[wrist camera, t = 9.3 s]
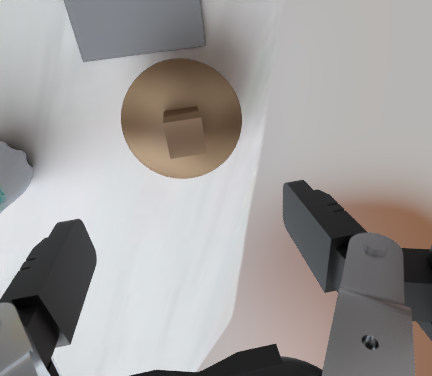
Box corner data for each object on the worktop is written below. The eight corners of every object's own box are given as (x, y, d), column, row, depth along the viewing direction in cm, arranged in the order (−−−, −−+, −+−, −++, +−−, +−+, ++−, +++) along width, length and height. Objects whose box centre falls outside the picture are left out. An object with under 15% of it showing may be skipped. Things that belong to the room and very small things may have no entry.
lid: (106, 67, 23) (92, 74, 19) (234, 50, 24) (249, 53, 20) (139, 182, 29) (133, 208, 24) (243, 165, 29) (255, 187, 25)
